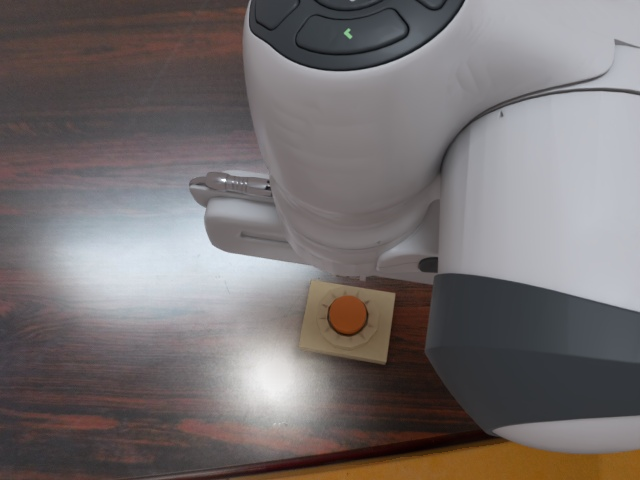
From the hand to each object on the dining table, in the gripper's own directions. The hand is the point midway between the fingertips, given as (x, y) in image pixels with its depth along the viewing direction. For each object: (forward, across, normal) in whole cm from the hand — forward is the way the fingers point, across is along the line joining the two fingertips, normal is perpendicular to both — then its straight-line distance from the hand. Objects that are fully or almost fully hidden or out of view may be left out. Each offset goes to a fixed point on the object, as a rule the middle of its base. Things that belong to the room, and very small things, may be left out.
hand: (349, 270), depth 44 cm
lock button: (+17, 0, 0) cm, 17 cm away
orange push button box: (+21, 0, 0) cm, 21 cm away
